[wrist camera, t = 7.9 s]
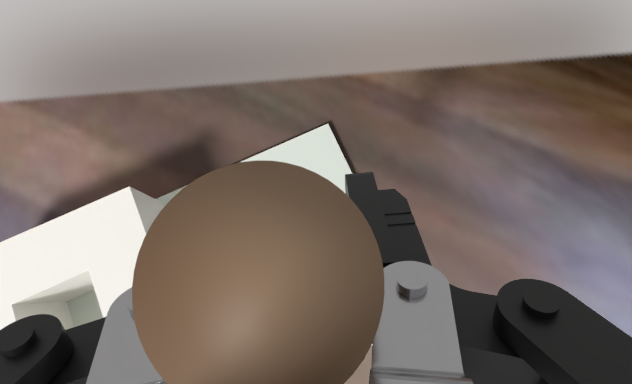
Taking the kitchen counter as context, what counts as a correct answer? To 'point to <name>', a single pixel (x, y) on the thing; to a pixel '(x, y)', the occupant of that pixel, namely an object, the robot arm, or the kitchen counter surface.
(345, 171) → the mat
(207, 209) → the dowel
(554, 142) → the kitchen counter surface
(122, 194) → the hole block
